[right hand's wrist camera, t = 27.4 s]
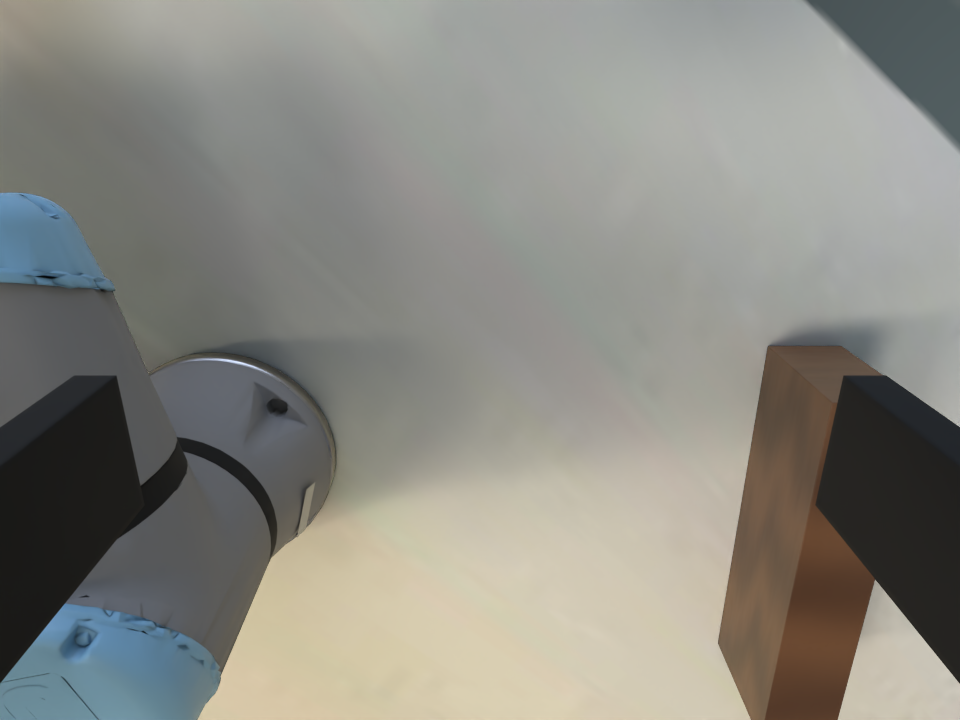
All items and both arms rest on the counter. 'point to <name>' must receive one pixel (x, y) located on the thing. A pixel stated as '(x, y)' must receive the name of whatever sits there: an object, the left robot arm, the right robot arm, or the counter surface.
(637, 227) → the counter surface
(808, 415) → the bar
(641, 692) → the counter surface
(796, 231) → the counter surface
